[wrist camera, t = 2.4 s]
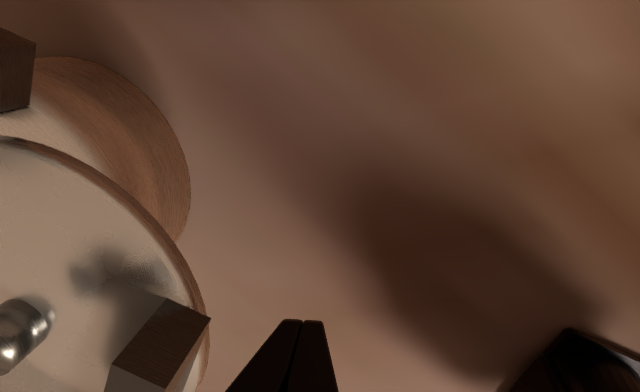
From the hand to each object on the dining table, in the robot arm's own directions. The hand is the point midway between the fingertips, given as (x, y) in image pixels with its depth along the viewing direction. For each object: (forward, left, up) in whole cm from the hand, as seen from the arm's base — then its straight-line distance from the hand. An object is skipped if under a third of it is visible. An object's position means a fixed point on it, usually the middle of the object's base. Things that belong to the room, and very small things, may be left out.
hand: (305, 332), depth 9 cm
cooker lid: (+9, +8, -5) cm, 13 cm away
